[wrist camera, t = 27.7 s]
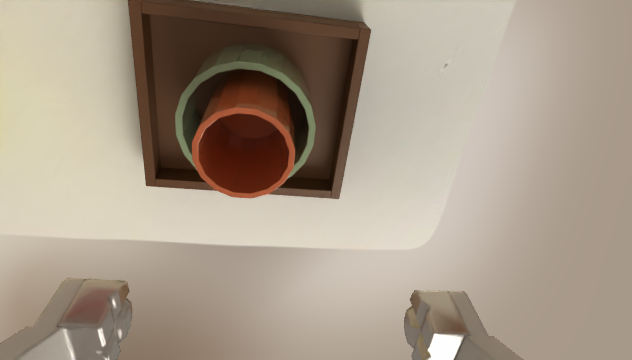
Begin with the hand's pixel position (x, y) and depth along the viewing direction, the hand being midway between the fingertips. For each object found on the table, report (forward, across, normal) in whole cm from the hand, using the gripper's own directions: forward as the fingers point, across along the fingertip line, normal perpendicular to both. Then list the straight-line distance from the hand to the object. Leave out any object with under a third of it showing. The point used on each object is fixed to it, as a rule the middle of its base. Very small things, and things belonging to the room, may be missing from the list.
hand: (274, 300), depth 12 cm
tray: (+24, +2, +3) cm, 25 cm away
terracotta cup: (+24, +2, +3) cm, 24 cm away
